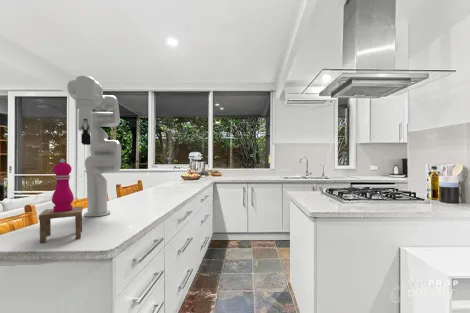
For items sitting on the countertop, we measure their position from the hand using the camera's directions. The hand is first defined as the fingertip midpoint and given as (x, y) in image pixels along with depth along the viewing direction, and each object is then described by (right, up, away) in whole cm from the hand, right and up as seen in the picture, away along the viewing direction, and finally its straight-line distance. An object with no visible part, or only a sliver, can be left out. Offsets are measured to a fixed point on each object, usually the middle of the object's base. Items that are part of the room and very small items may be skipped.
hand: (86, 144), depth 123 cm
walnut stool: (-1, -36, -15) cm, 39 cm away
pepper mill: (-1, -26, -15) cm, 30 cm away
